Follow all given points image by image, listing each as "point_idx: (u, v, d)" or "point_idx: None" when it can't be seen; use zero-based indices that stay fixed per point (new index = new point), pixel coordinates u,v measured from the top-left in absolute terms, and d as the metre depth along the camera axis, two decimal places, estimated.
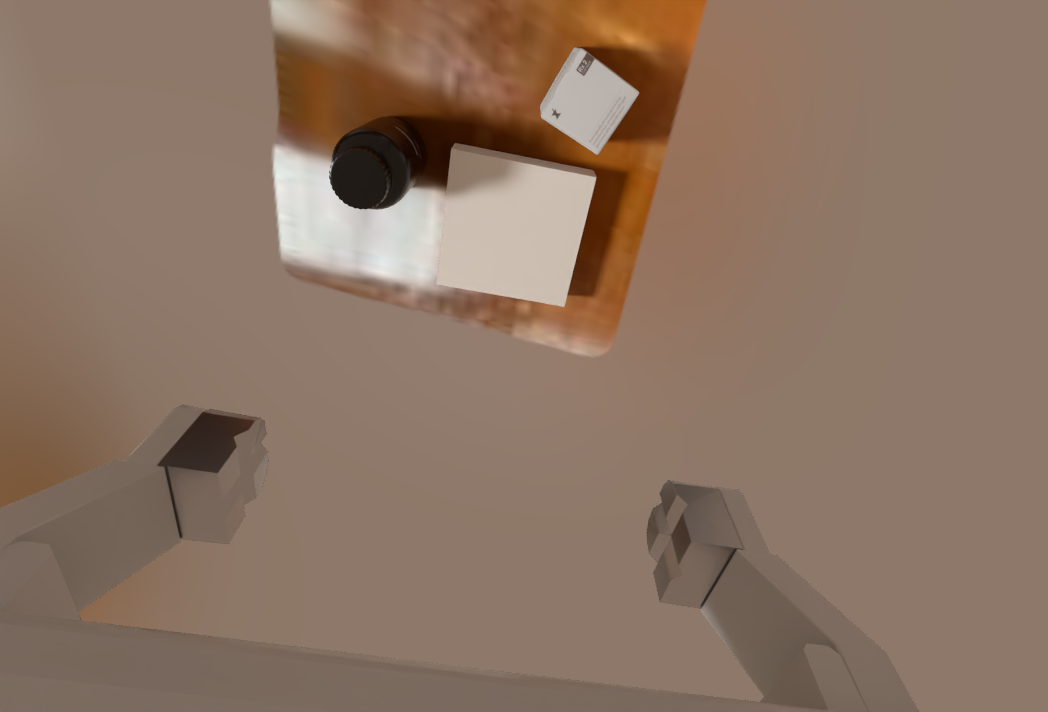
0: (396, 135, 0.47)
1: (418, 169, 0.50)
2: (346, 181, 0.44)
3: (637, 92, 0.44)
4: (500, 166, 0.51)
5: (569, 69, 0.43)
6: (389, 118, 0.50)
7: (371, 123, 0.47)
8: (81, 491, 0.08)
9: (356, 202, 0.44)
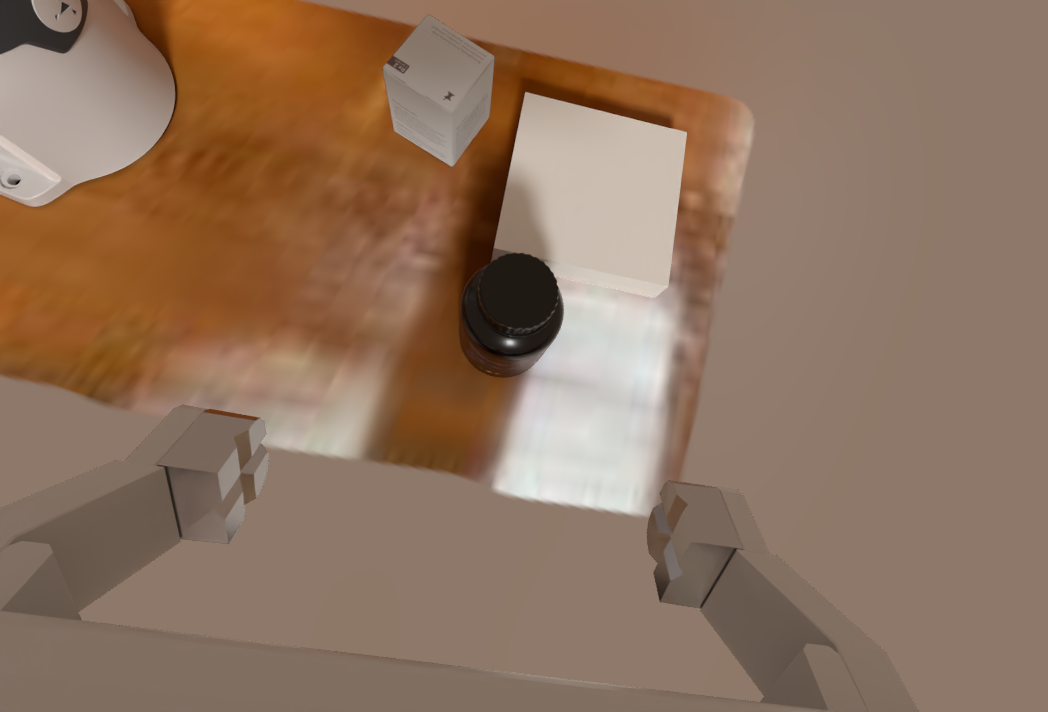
0: None
1: None
2: (520, 306, 0.31)
3: (428, 15, 0.40)
4: (514, 193, 0.42)
5: (402, 81, 0.38)
6: None
7: (459, 321, 0.37)
8: (81, 491, 0.08)
9: (549, 298, 0.31)
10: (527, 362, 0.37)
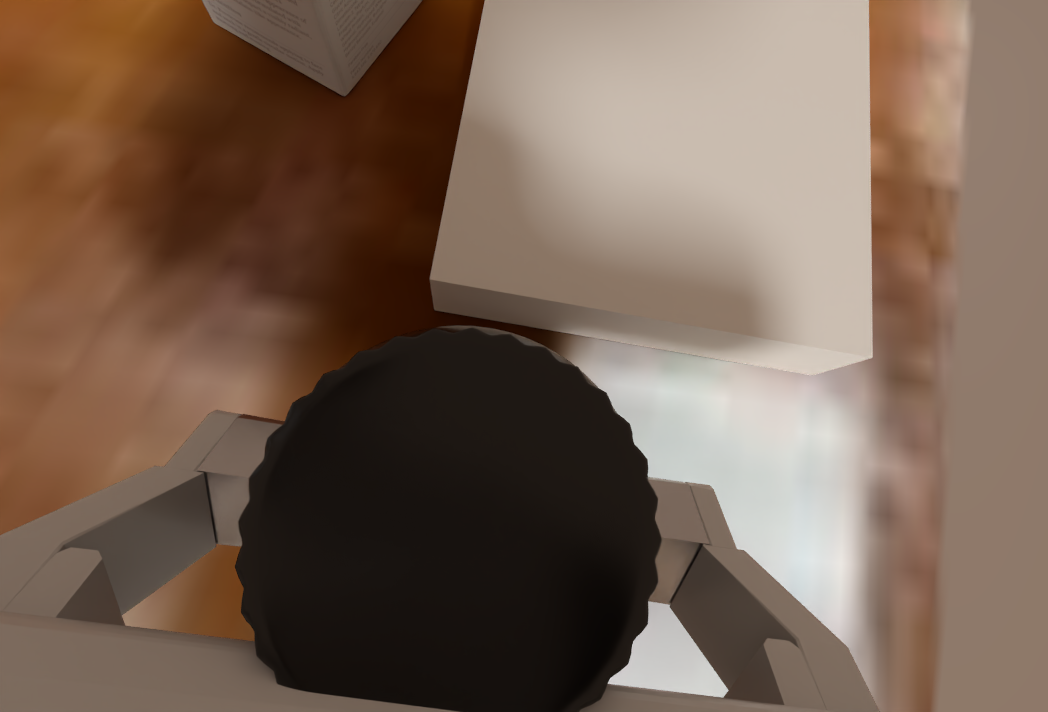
0: None
1: None
2: (466, 626, 0.06)
3: None
4: (479, 142, 0.17)
5: None
6: None
7: None
8: (124, 497, 0.08)
9: (615, 564, 0.06)
10: None
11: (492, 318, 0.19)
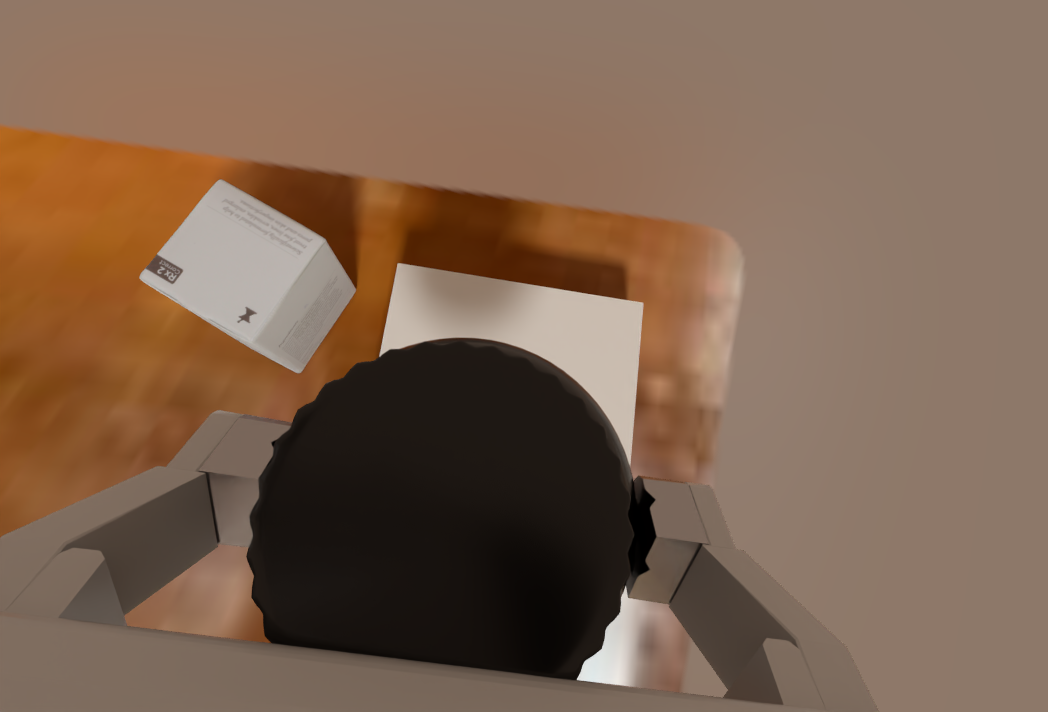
0: None
1: None
2: (452, 612, 0.06)
3: (219, 181, 0.25)
4: None
5: (171, 296, 0.24)
6: None
7: None
8: (127, 497, 0.08)
9: (590, 556, 0.07)
10: None
11: None
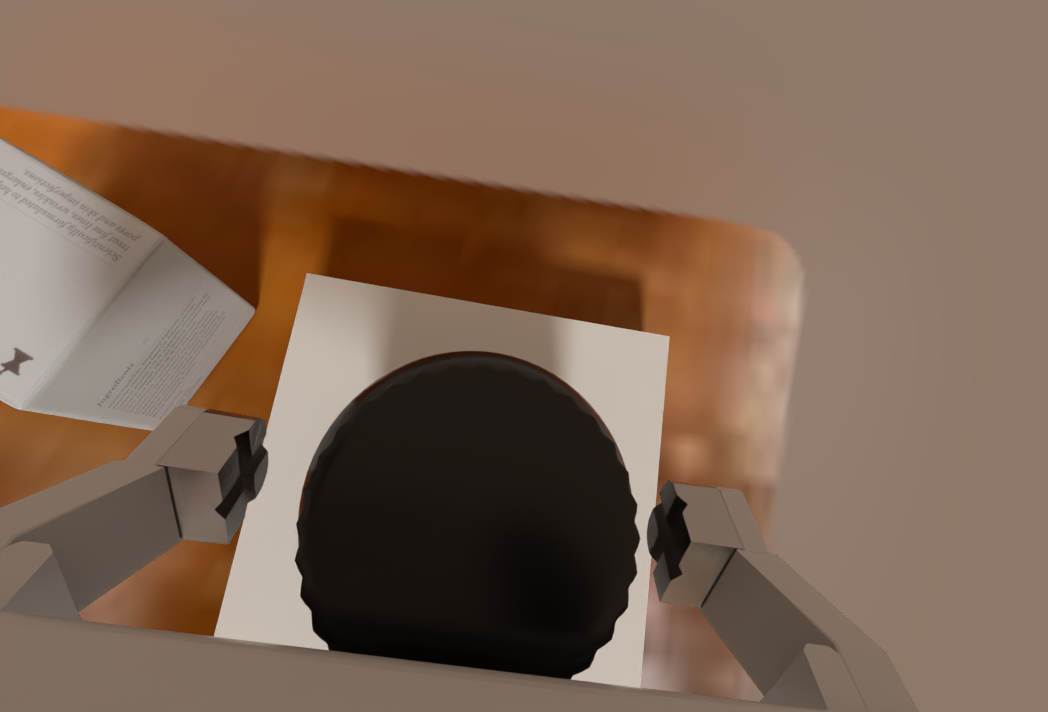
0: None
1: None
2: (480, 608, 0.07)
3: None
4: (263, 532, 0.18)
5: None
6: None
7: None
8: (81, 491, 0.08)
9: (602, 558, 0.07)
10: None
11: None
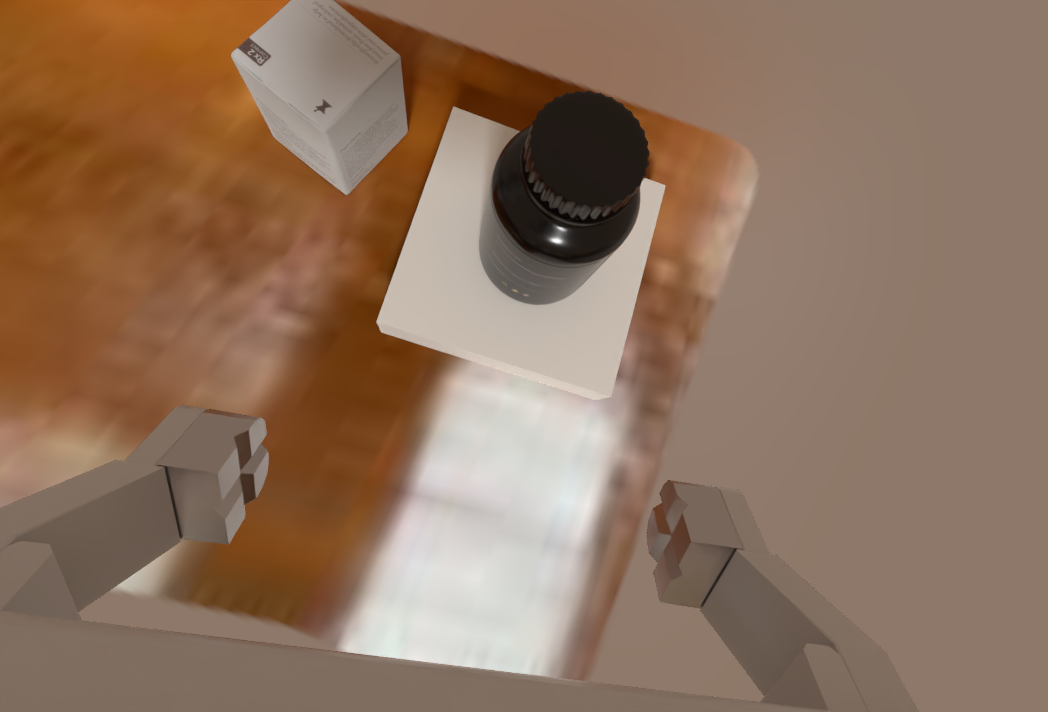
0: None
1: None
2: (590, 172, 0.20)
3: None
4: (416, 247, 0.31)
5: (258, 77, 0.27)
6: None
7: (485, 209, 0.26)
8: (81, 491, 0.08)
9: (634, 166, 0.21)
10: (575, 277, 0.26)
11: (413, 342, 0.33)
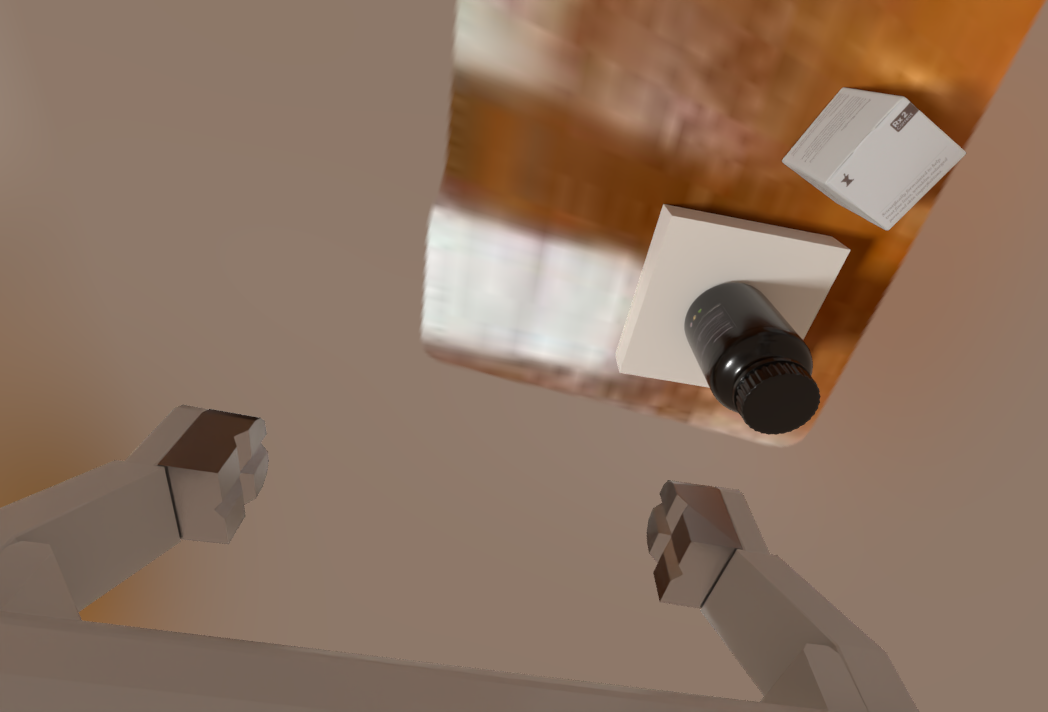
0: (792, 328, 0.37)
1: None
2: (764, 406, 0.34)
3: (964, 153, 0.33)
4: (730, 236, 0.40)
5: (880, 123, 0.32)
6: (747, 289, 0.40)
7: (753, 309, 0.37)
8: (81, 491, 0.08)
9: (767, 427, 0.34)
10: (702, 370, 0.39)
11: (655, 229, 0.43)
